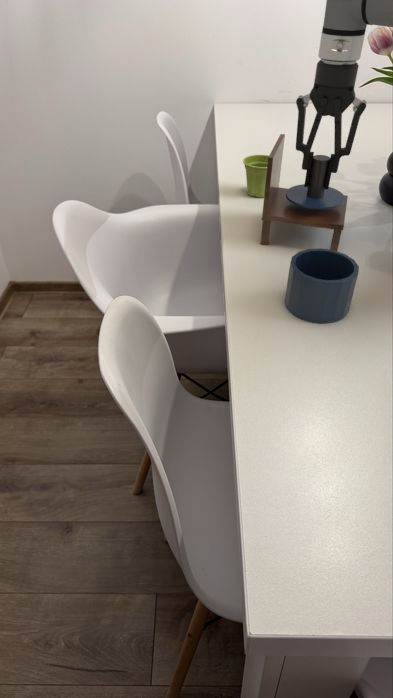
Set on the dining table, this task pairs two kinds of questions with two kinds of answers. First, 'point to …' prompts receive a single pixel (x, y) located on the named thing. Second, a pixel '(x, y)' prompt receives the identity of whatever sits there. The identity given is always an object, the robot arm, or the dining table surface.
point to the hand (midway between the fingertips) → (316, 185)
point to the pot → (320, 285)
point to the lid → (316, 188)
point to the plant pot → (256, 174)
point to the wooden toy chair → (288, 212)
